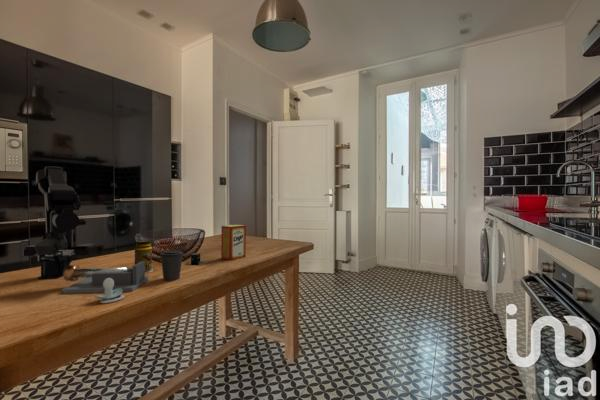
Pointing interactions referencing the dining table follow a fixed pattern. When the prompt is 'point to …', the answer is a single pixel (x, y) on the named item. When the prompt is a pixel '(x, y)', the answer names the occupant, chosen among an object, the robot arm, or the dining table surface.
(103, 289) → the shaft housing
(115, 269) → the shaft
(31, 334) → the dining table surface
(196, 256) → the black block
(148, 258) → the condiment
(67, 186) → the robot arm
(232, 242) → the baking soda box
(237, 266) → the dining table surface
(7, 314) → the dining table surface
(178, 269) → the coffee cup
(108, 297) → the pacifier
